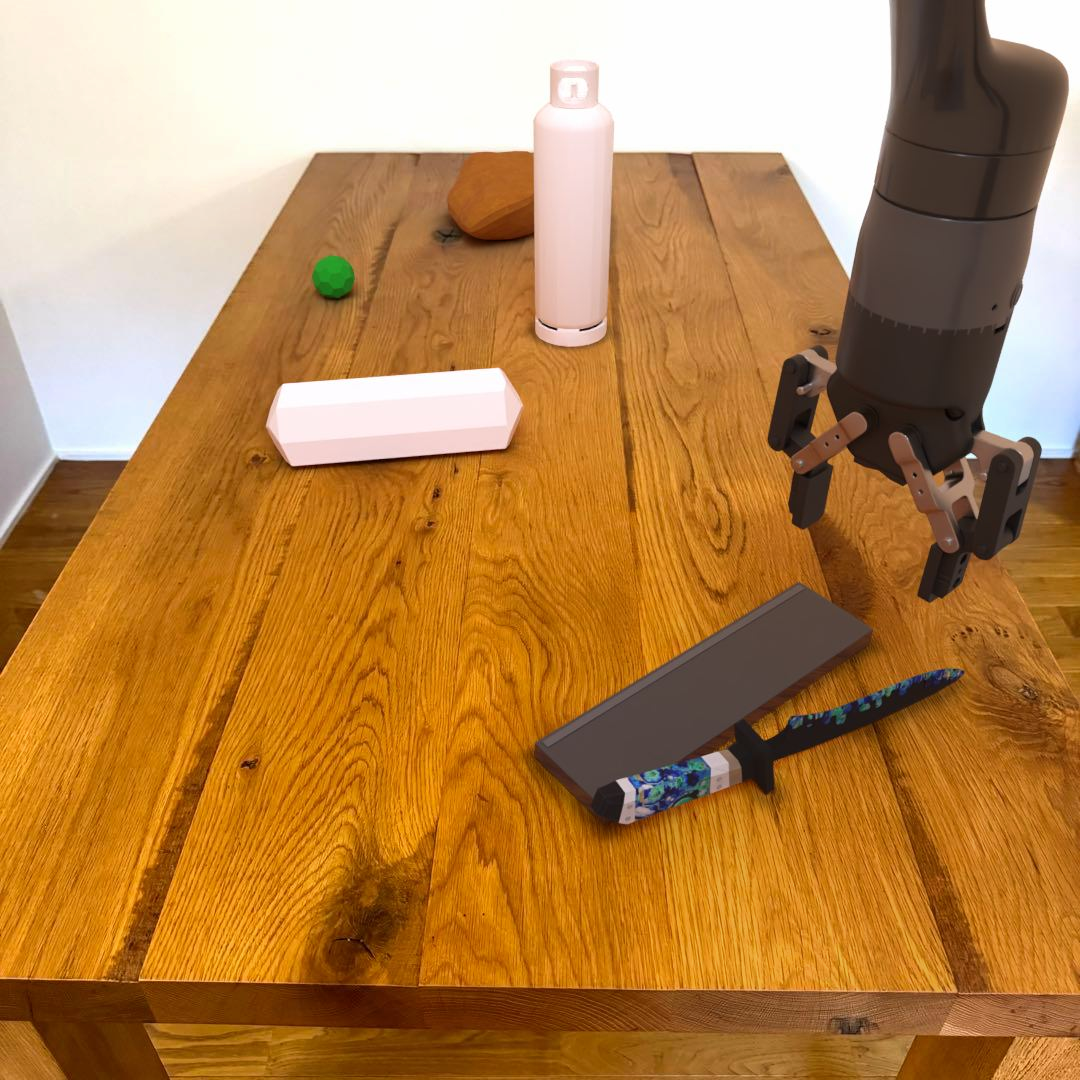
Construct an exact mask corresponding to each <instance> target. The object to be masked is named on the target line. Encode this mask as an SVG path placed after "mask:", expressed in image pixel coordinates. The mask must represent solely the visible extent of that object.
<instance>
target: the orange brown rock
mask: <svg viewBox="0 0 1080 1080" xmlns="http://www.w3.org/2000/svg"><path fill="white" fill-rule="evenodd" d="M446 203H447V204H446V205H447V211H448V212H449V214H450V215H451V218H452V219H453V221H454V222H455V224H456V225H457V227H459V228H460V229H461V231H462V232H465V233H466V234H467V235H469V236H471V237H474V238H476V239H479V240H480V239H481V240H487V241H488V240H489V241H490V240H493V241H494V240H495V241H496V240H497V241H501V240H502V241H503V240H512V239H518V238H521V237H525V236H527V235H530V234H533V233H534V154H533V153H530V152H529V151H526V150H525V151H524V150H514V151H513V150H512V151H511V150H509V151H501V152H496V151H495V152H494V151H478V152H473V153H471V154H470V155H469V156H468V157H467V158H466V159H465V160H464V161H463V162H462V166H461V168H460V171H459V173H458V175H457V179H456V181H454V184H453V186H452V187H451V189H450V191H449V192H448V194H447V195H446Z"/></svg>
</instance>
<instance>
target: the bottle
mask: <svg viewBox="0 0 1080 1080" xmlns="http://www.w3.org/2000/svg"><path fill="white" fill-rule="evenodd" d="M568 67H583V68H585V69H586V70H579V71H578V70H576V71H575V70H574V71H573V70H566V69H567V68H568ZM599 77H600V65H599V63H597V62H595V61H591V60H586V59H563V60H557V61H554V62H552V63H550V65H549V102H547V103H546V104H544V105H543V106H541V108H539V110H538V111H537V112H536V113H535V116H534V118H533V122H532V123H533V125H532V126H533V156H534V232H533V233H534V236H533V237H534V240H533V241H534V244H533V245H534V310H535V315H534V329H535V331H534V332H535V335H536V336H537V337H538V338H539V339H540V340H541V341H543V342H545V343H546V344H551V345H554V346H558V347H567V348H568V347H571V348H572V347H584V346H589V345H592V344H594V343H597V342H599V341H600V340H602V339H603V338H604V337H605V336H606V334H607V330H608V329H607V327H608V318H607V312H608V305H609V304H608V303H609V301H608V299H609V278H610V277H609V273H610V272H609V271H610V247H611V223H612V222H611V221H612V220H611V219H612V196H613V195H612V194H613V193H612V192H613V168H614V167H613V166H614V165H613V164H614V144H615V143H614V139H615V120H614V118H613V115H612V112H611V111H610V110H609V109H608V108H607V107H606V106H605V105H604V104H602V103H600V102H599V85H600V84H599V81H600V80H599V79H600V78H599ZM564 78H567V79H583V80H584V82H585V83H586V86H587V87H586V88H585V89H584V90H578V86H579V85H580V82H573V81H571V82H569V83H568V85H569V86H570V90H568V89H566V88H565V87H564V85H563V82H562V79H564ZM546 325H547V326H548V327H547V326H546ZM594 326H596V327H594ZM550 327H552V328H550ZM553 328H554V329H553ZM589 328H590V329H589ZM583 329H584V330H583ZM585 329H586V330H585Z"/></svg>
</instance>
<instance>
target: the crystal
mask: <svg viewBox="0 0 1080 1080" xmlns="http://www.w3.org/2000/svg"><path fill="white" fill-rule="evenodd" d="M524 407H525V406H524V404H523V401H522V400H521V398H520V395H519V394H518V392H517V390H516V388H515V387H514V385H513V384H512V382H511V381H510V379H509V377H508V376H507V375H506V373H505V372H504V370H503V369H502V368H500V367H493V368H492V367H491V368H478V369H466V370H465V369H464V370H463V369H462V370H452V371H450V370H449V371H438V372H424V373H423V372H422V373H410V374H398V375H382V376H370V377H369V376H368V377H358V378H357V377H356V378H343V379H331V380H330V379H329V380H316V381H303V382H289V383H282V384H281V385H280V386H279V387H278V389H277V391H276V393H275V395H274V398H273V401H272V403H271V406H270V409H269V412H268V416H267V420H266V424H265V429H266V431H267V433H268V434H269V436H270V439H271V440H272V442H273V445H274V446H275V447H276V449H277V450H278V451H279V454H280V455H281V456H282V458H283V459H284V461H285V462H286V463H288V464H289V465H290V466H291V467H299V466H310V465H312V466H313V465H323V464H324V465H325V464H335V463H346V462H347V463H348V462H359V461H360V462H361V461H372V460H380V459H381V460H383V459H384V460H385V459H396V458H408V457H409V458H410V457H419V456H421V457H422V456H431V455H443V454H456V453H457V454H458V453H466V452H467V453H468V452H479V451H491V450H505V449H507V448H508V446H510V444H511V442H512V439H513V437H514V434H515V433H516V430H517V427H518V425H519V422H520V420H521V418H522V414H523V410H524Z"/></svg>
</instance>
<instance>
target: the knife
mask: <svg viewBox="0 0 1080 1080" xmlns="http://www.w3.org/2000/svg"><path fill="white" fill-rule="evenodd" d="M965 673H966V671H965V670H964V669H960V668H941V669H935V670H931V671H926V672H923V673H920V674H917V675H914V676H911V677H908V678H906V679H904V680H901V681H899V682H896V683H894V684H892V685H890V686H887V687H885V688H882V689H880V690H878V691H874V692H873V693H871V694H867V695H866V696H863V697H861V698H857V699H855V700H853V701H850V702H847V703H845V704H843V705H840V706H837V707H834V708H830V709H828V710H824V711H820V712H815V713H807V714H798V715H790V716H789V718H788V720H787V723H786V725H785V726H784V727H783V729H781V730H780V731H779V732H778V733H777V734H775V735H773V736H772V737H769V738H767V739H764V738H763V737H762V736H760V734H759V733H758V732H757V731H756V730H755V729H754V728H753V727H752V725H751V726H750V725H749V724H748V723H747V722H746V721H745V720H744V719H741V720H740V721H738V722H736V723H734V732H735V737H734V740H735V741H734V743H732V744H730V745H729V746H727V747H726V748H725V749H723V750H719V751H714V752H712V753H711V754H708V755H705V756H701V757H698V758H694V759H691V760H687V761H684V762H680V763H677V764H673V765H669V766H666V767H662V768H659V769H655V770H652V771H648V772H645V773H641V774H637V775H634V776H630V777H627V778H622V779H619V780H616V781H613V782H611V783H609V784H607V785H605V786H602V787H599V788H598V789H597V791H596V793H595V795H594V798H593V800H592V802H591V808H592V809H593V810H594V812H595V813H596V814H597V815H599V816H601V817H604V818H606V819H609V820H611V821H612V822H614V823H617V824H621V825H622V824H623V825H629V824H632V823H634V822H637V821H640V820H643V819H646V818H648V817H652V816H654V815H656V814H659V813H661V812H665V811H667V810H671V809H673V808H675V807H679V806H680V805H683V804H686V803H689V802H693V801H694V800H698V799H700V798H702V797H706V796H709V795H711V794H713V793H716V792H719V791H722V790H725V789H727V788H730V787H733V786H735V785H738V784H741V783H744V782H748V781H751V780H752V781H753V782H754V784H755V785H756V786H757V787H758V788H759V789H760V790H761V792H762V793H763V794H764V795H769V794H770V793H772V792H773V791H775V775H774V774H775V772H774V770H775V769H774V762H776V761H779V760H782V759H785V758H788V757H790V756H793V755H796V754H799V753H801V752H805V751H807V750H810V749H812V748H815V747H816V746H820V745H822V744H824V743H827V742H830V741H832V740H834V739H838V738H839V737H842V736H845V735H847V734H850V733H852V732H855V731H857V730H860V729H863V728H864V727H866V726H869V725H871V724H873V723H875V722H878V721H881V720H883V719H884V718H887V717H889V716H891V715H893V714H896V713H897V712H900V711H902V710H904V709H906V708H908V707H911V706H912V705H915V704H917V703H919V702H921V701H923V700H925V699H927V698H928V697H931V696H933V695H935V694H937V693H939V692H940V691H942V690H943V689H945V688H947V687H949V686H950V685H952V684H953V683H955V682H957V681H958V680H959V679H961V678H962V677H963V676H964V675H965Z"/></svg>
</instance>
